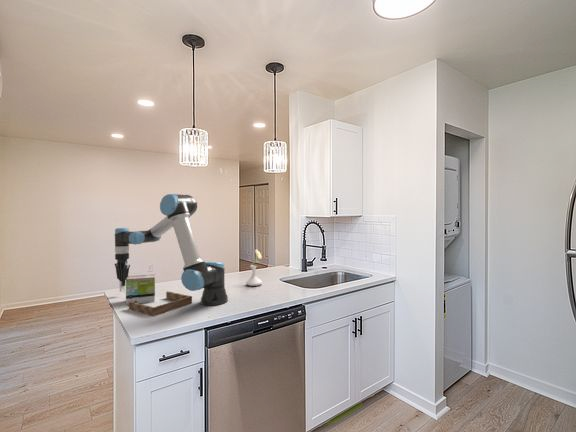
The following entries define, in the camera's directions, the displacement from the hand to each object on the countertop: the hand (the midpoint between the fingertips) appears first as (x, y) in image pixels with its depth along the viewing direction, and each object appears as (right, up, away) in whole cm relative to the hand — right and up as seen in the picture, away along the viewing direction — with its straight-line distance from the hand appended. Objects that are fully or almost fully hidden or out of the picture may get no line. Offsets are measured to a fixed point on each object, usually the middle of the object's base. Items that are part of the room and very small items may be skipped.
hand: (122, 290), depth 185 cm
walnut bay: (+32, -4, -20) cm, 38 cm away
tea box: (+16, -4, -10) cm, 20 cm away
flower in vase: (+79, -3, +27) cm, 83 cm away
